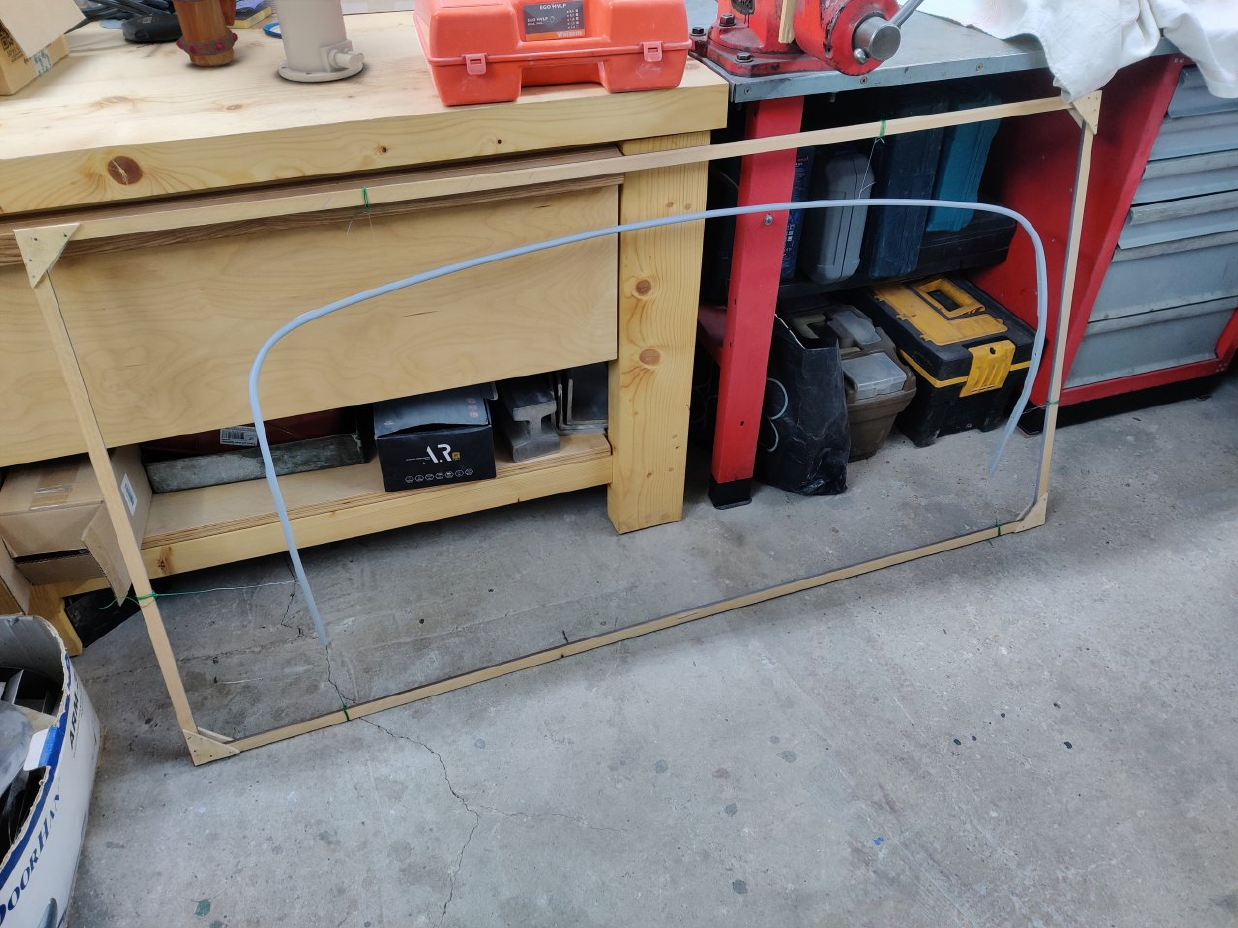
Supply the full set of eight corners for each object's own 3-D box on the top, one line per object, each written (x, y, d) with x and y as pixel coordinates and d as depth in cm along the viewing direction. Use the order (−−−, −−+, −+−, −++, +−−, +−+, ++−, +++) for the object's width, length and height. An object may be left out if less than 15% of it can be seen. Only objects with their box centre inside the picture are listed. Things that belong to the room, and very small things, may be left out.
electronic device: (216, 34, 160) (124, 28, 155) (212, 1, 156) (117, -5, 151) (218, 54, 154) (122, 50, 149) (213, 21, 150) (114, 15, 145)
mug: (220, 73, 137) (190, -36, 127) (173, 70, 138) (140, -39, 128) (267, 48, 148) (243, -55, 138) (223, 45, 149) (196, -56, 140)
